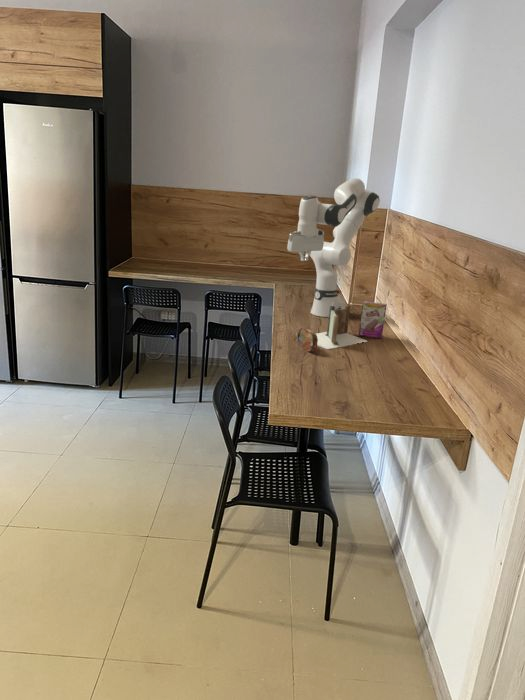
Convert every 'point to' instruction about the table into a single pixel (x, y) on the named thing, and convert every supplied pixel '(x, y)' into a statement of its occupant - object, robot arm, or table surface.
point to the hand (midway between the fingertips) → (304, 260)
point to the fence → (340, 319)
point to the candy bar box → (372, 319)
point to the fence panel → (333, 327)
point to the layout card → (337, 340)
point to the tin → (307, 339)
